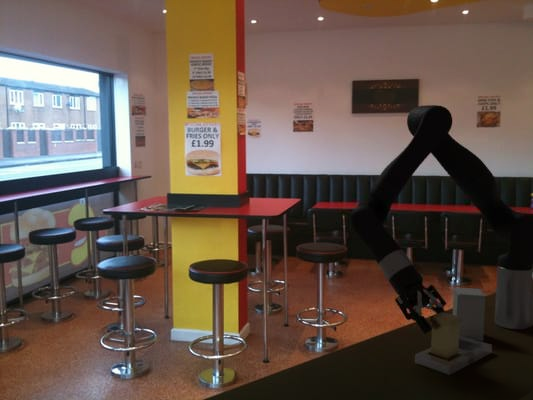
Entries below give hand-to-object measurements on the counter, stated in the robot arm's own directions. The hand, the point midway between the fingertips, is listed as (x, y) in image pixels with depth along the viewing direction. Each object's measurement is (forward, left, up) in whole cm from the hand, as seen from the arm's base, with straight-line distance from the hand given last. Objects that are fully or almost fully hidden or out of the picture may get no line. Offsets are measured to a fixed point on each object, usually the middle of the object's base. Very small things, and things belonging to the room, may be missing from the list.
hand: (438, 328), depth 131 cm
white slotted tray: (-5, -1, -9) cm, 10 cm away
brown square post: (-1, +1, -8) cm, 8 cm away
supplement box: (-18, -16, -9) cm, 26 cm away
